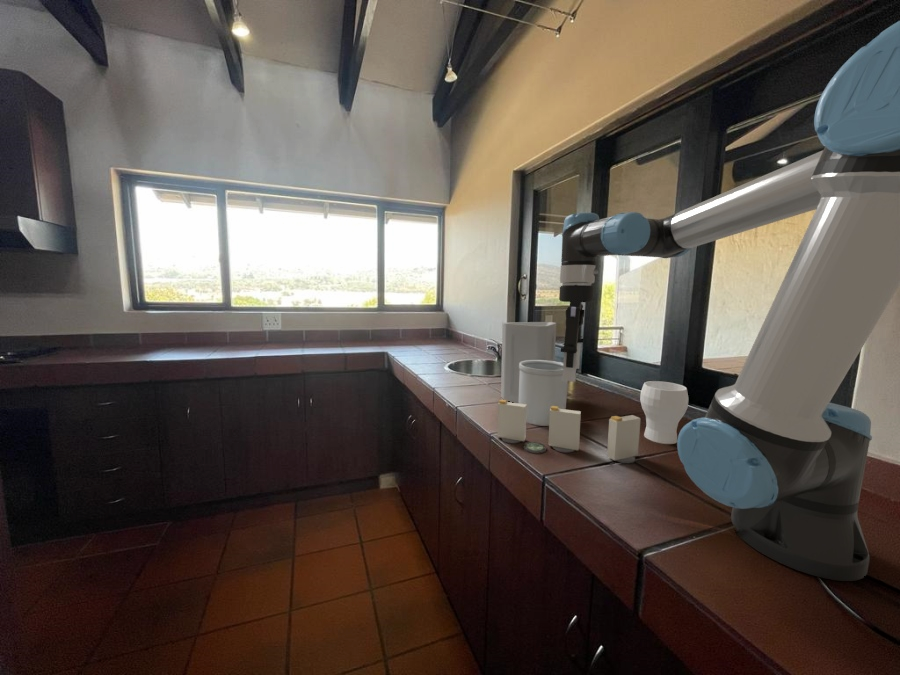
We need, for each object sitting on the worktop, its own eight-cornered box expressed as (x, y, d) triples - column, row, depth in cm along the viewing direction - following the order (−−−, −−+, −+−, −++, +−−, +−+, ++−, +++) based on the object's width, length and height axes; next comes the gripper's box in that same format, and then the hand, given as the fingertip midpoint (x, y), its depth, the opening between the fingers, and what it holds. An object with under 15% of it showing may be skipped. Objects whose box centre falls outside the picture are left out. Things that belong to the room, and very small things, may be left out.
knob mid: (578, 455, 81) (580, 413, 80) (547, 449, 84) (549, 409, 83) (579, 446, 86) (581, 407, 85) (550, 441, 89) (551, 403, 87)
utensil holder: (565, 414, 111) (568, 360, 109) (568, 432, 97) (571, 371, 95) (519, 410, 115) (520, 358, 113) (515, 426, 101) (517, 368, 99)
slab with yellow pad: (643, 460, 79) (646, 417, 77) (619, 465, 76) (622, 422, 75) (624, 450, 84) (627, 410, 82) (601, 455, 81) (604, 414, 80)
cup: (692, 451, 85) (698, 392, 83) (645, 447, 87) (649, 390, 85) (673, 434, 95) (678, 381, 93) (632, 431, 97) (635, 379, 95)
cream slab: (522, 445, 86) (524, 406, 85) (495, 440, 89) (496, 403, 88) (526, 437, 91) (527, 400, 90) (500, 433, 94) (501, 397, 92)
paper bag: (512, 409, 115) (515, 326, 111) (500, 396, 130) (501, 322, 126) (566, 407, 118) (570, 325, 114) (548, 394, 132) (551, 321, 129)
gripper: (593, 284, 67) (585, 390, 70) (595, 284, 89) (589, 364, 93) (553, 284, 70) (547, 385, 73) (565, 284, 92) (560, 362, 96)
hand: (571, 374), depth 83 cm, fingers open, 13 cm apart
